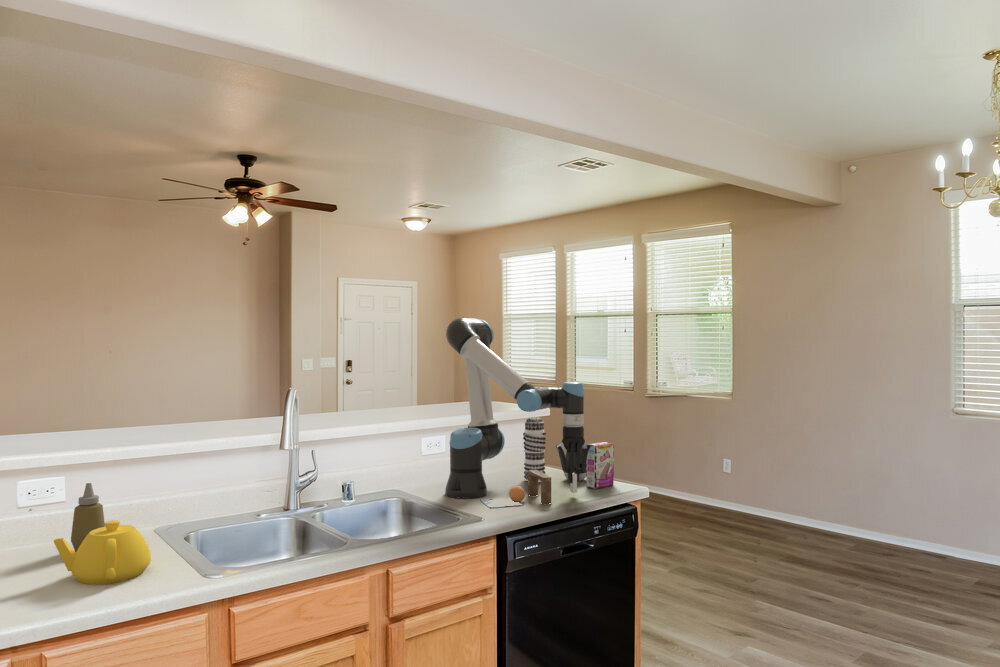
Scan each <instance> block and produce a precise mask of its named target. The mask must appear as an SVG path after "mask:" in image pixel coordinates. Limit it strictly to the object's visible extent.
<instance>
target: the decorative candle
mask: <svg viewBox="0 0 1000 667" xmlns="http://www.w3.org/2000/svg"><path fill="white" fill-rule="evenodd" d="M544 423H545V421H544V420H543V418H541V417H538V416H537V417H534V416H533V417H527V418H526V420H525V421H524V432H523V433H522V434H523V449H524V450H523V452H524V457H525V458H524V464H523V465H524V467H523V469H524V472H523V474H524V475H523V478H524V479H523V481H524V480H525V481H528V470H538V471H540V472H542V473H544V474H546V471H545V470H546V467H545V466H546V463H545V452H546V447H545V444H546V437H545V436H546V435H547V433H546V432H545V424H544ZM525 481H524V482H525ZM538 482H541V480H540V479H538Z"/></svg>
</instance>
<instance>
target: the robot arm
mask: <svg viewBox="0 0 1000 667" xmlns="http://www.w3.org/2000/svg"><path fill="white" fill-rule="evenodd" d="M445 331H446V332H445V337H446V340H447V343H448V344H449V345H450V347H451V348H452V349H453V350H454V351H455V352H456V353H457V354H459V355H460V356H461V357H463V359H464V362H465V363H464V365H465V372H466V373H465V374H466V384H467V392H468V393H467V395H468V402H469V403H468V404H469V405H468V406H469V411H470V412H469V415H470V422H469V423H468V424H467V427H461V428H458V429H454V430H453V431H452V432H451V433H450V436H449V437H450V438H449V458H450V460H449V470H450V471H449V472H450V473H449V475H448V479H447V482H446V485H445V496H447V497H448V498H449V497H450V498H455V499H475V498H482V497H485V496H487V494H488V487H487V483H486V481H485V477H484V474H483V461H486V460H489V459H490V460H491V459H493V458H495V457H496V456H498V455H500V454H501V453H502V451H503V449H504V447H505V442H506V441H505V437H504V436H505V435H504V433H503V431H501V429H500V428H499V423H498V421H497V420H496V419H494V413H493V402H492V393H491V385H490V378H491V380H493V381H494V382H495V383H496V384H497V385H499V386H500V387H501V388H502V389H503V390H504V391H505V392H506V393H507V394H508V395H510V396H511V397H512V398H513V399H515V400H516V403H517V406H518V408H519V409H520V410H521V411H523V412H530V413H531V412H532V413H533V412H536V411H540V410H544V409H561V410H562V425H563V426H562V439H561V442H560V444H559V445H556V446H555V449H556V450H557V452H558V457H559V460H560V465H561V468H562V470H561V471H562V472H563V471H564V472H566V473H568V479H567V482H568V483H569V492H571V493H573V494H574V493H575V494H576V493H578V483H580V481H579V474H580V473H581V472H583V471H584V469H585V464H586V460H587V455H588V451H589V449H590V447H591V445H589V444H590V443H587V442H586V441H585V438H584V436H585V427H584V424H585V420H584V419H585V414H584V413H585V410H584V408H585V407H584V405H585V398H584V397H585V394H584V384H583V382H580V381H566V382H565V381H564V382H562V385H561V387H554V386H553V387H552V386H533V385H532V384H531V383H530V382H529V381H528V380H527V379H525V378H524V377H523V376H522V375H520V373H518V371H516V370H515V369H514V368H513V367H511V366H510V365H509V364H508V363H507V362H505V361H504V360H503V359H502V358H501V357H500V356H499V355H497V354H496V353H495V352H494V351H493V350H492V349H491V347H490V346H491V344H492V342H493V340H494V336H495V335H494V330H493V328H492V326H491V324H490V323H488V322H487V321H486V320H484V319H481V318H477V317H476V318H474V317H473V318H471V317H470V318H469V317H467V318H466V317H458V318H455V319H453V320H452V321H451V322H449V324H448V325H447V327H446V330H445ZM582 447H583V450H582V454H581V459H580V450H581V448H582ZM564 450H566V451H567V462H566V458H565V454H566V453H565V451H564ZM573 454H574V473H573ZM564 472H563V473H564Z"/></svg>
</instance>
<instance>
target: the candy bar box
mask: <svg viewBox="0 0 1000 667" xmlns="http://www.w3.org/2000/svg"><path fill="white" fill-rule="evenodd" d="M588 444H589V445H591V447H590V449H589V451H588V455H587V466H586V478H585V480H586V481H585V483H586V484H585V486H586V488H587V489H594V490H598V489H602V488H606V487H610V486H614V480H615V479H614V478H615V477H614V476H615V475H614V474H615V473H614V472H615V471H614V466H615V465H614V464H615V462H614V461H615V453H614V452H615V451H614V450H615V443H614V442H606V441H603V442H595V443H588Z"/></svg>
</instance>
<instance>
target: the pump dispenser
mask: <svg viewBox="0 0 1000 667" xmlns="http://www.w3.org/2000/svg"><path fill="white" fill-rule="evenodd" d="M582 450H583V446H582V448H581V450H580V459H581V454H582ZM564 454H565V458H566V462H567V450H566V452H565V453H564ZM586 466H587V460H586V464H585V469H584V471H583V472H581V473H580V474H579V482H581V481H583V480H586ZM562 472H563V475H564V477H565V478H566V479H567V480H568V473H566V472H564V471H563V470H562ZM573 473H574V454H573Z"/></svg>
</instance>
